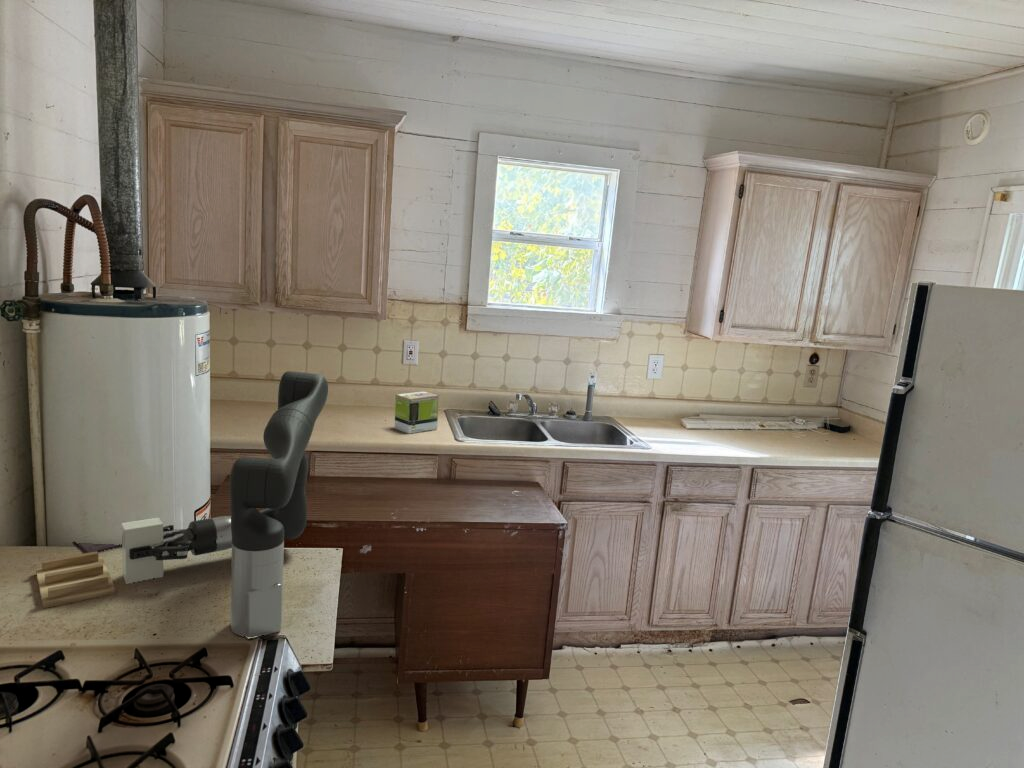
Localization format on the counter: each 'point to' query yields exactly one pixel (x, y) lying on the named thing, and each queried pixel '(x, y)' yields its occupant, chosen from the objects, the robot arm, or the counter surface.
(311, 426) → the robot arm
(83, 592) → the rack
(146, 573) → the clay slab
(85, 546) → the chocolate bar
